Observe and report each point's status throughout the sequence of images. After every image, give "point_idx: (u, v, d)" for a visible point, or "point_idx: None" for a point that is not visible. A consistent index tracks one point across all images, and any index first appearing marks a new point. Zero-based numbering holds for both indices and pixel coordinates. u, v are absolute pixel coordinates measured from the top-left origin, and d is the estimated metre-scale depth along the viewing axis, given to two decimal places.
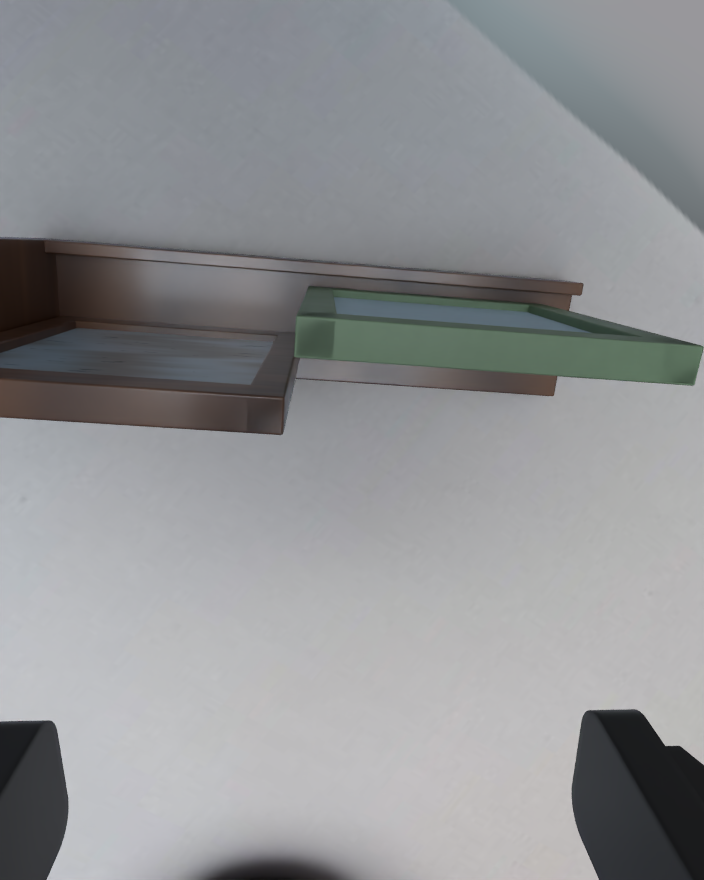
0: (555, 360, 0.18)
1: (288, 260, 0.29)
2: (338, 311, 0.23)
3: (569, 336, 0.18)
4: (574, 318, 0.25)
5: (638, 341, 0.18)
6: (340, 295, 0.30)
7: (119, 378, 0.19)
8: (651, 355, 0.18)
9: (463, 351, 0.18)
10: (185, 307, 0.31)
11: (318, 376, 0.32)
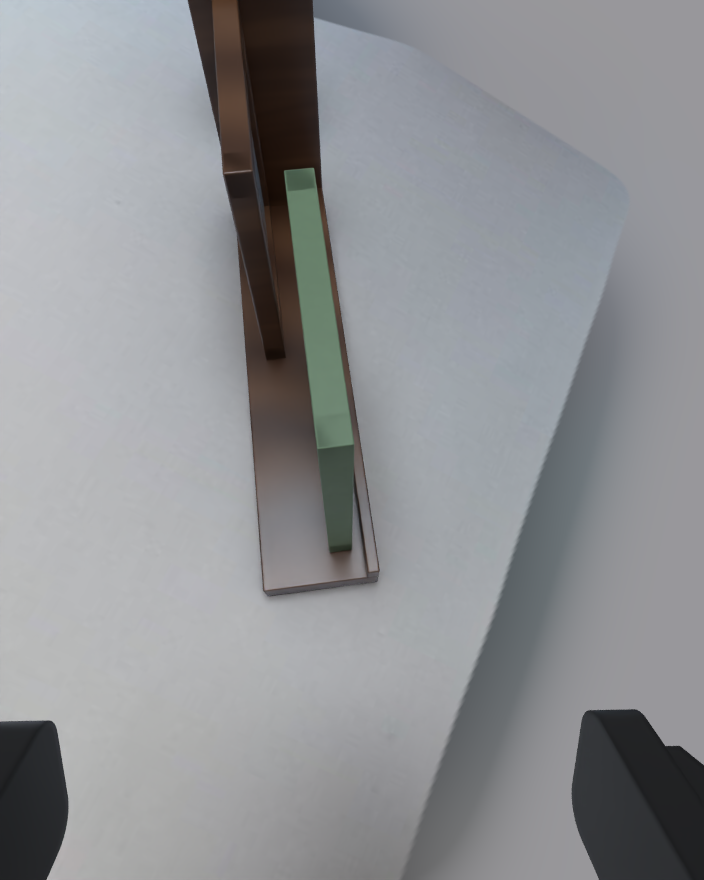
0: (315, 331, 0.21)
1: (342, 329, 0.37)
2: None
3: (338, 338, 0.21)
4: None
5: (346, 391, 0.20)
6: None
7: (248, 103, 0.27)
8: (336, 403, 0.20)
9: (310, 267, 0.22)
10: (291, 278, 0.40)
11: (250, 376, 0.37)
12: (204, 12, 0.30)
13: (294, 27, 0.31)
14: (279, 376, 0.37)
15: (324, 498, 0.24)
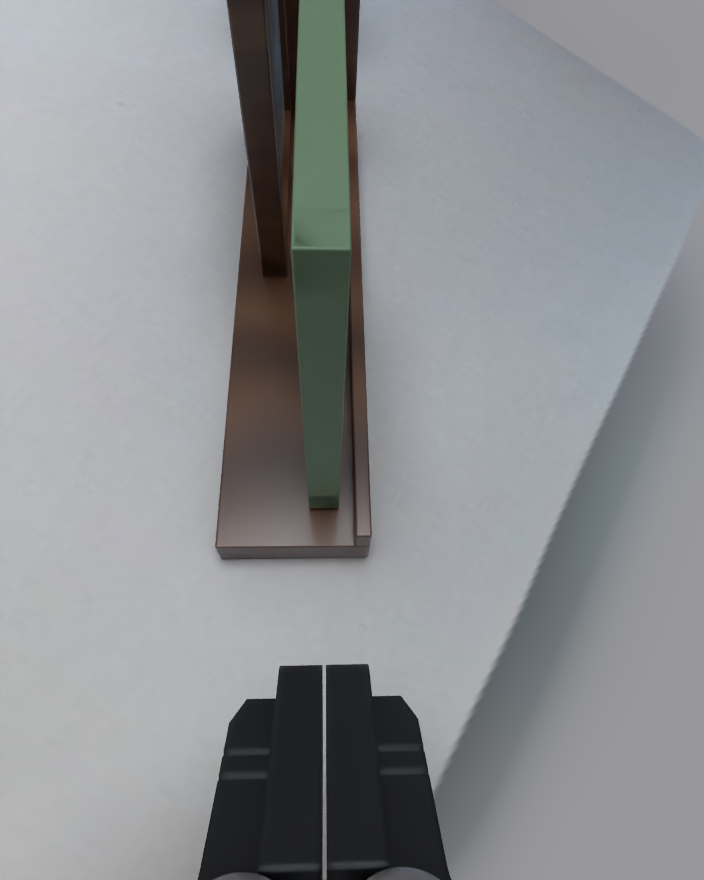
0: (314, 107, 0.14)
1: (360, 248, 0.30)
2: None
3: (346, 120, 0.14)
4: None
5: (348, 183, 0.13)
6: None
7: None
8: (331, 194, 0.13)
9: (318, 37, 0.15)
10: None
11: (240, 292, 0.30)
12: None
13: None
14: (275, 296, 0.30)
15: (302, 386, 0.16)
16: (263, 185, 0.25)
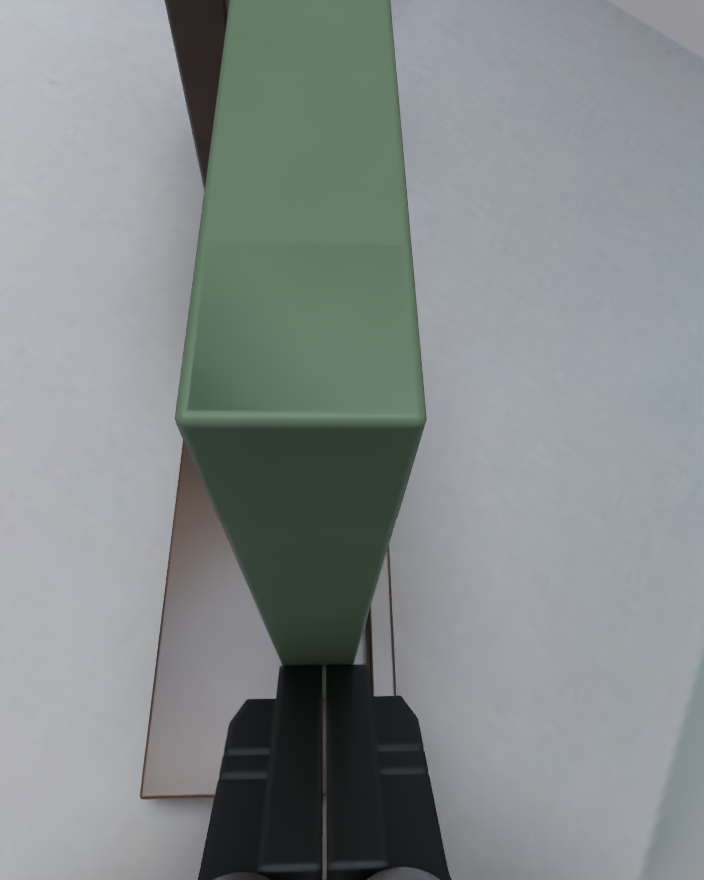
0: None
1: None
2: None
3: None
4: None
5: (400, 156, 0.04)
6: None
7: None
8: (342, 194, 0.04)
9: None
10: None
11: None
12: None
13: None
14: None
15: (269, 628, 0.07)
16: None
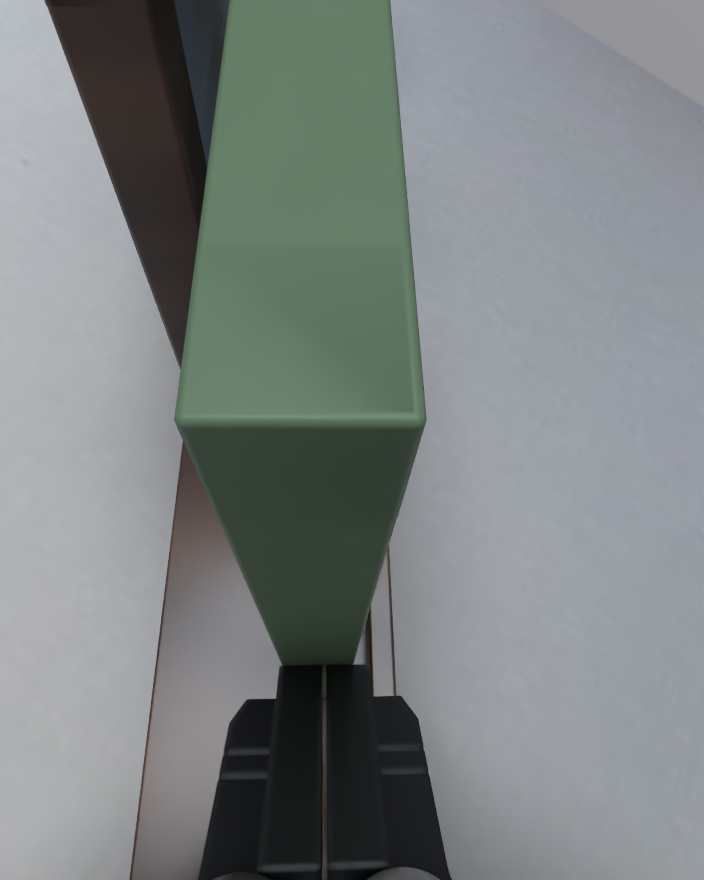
0: None
1: None
2: None
3: None
4: None
5: (400, 157, 0.04)
6: None
7: None
8: (342, 194, 0.04)
9: None
10: None
11: (181, 510, 0.18)
12: None
13: None
14: None
15: (269, 628, 0.07)
16: None
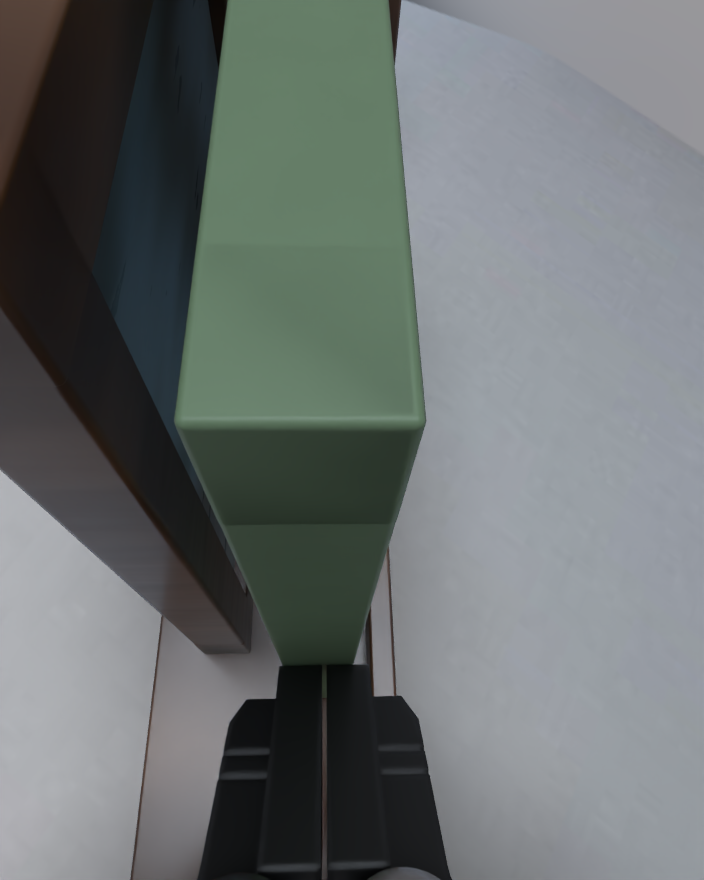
0: None
1: (390, 610, 0.15)
2: None
3: None
4: None
5: (399, 157, 0.04)
6: None
7: None
8: (341, 195, 0.04)
9: None
10: None
11: (159, 696, 0.15)
12: None
13: None
14: (227, 705, 0.15)
15: (269, 629, 0.07)
16: (180, 607, 0.11)
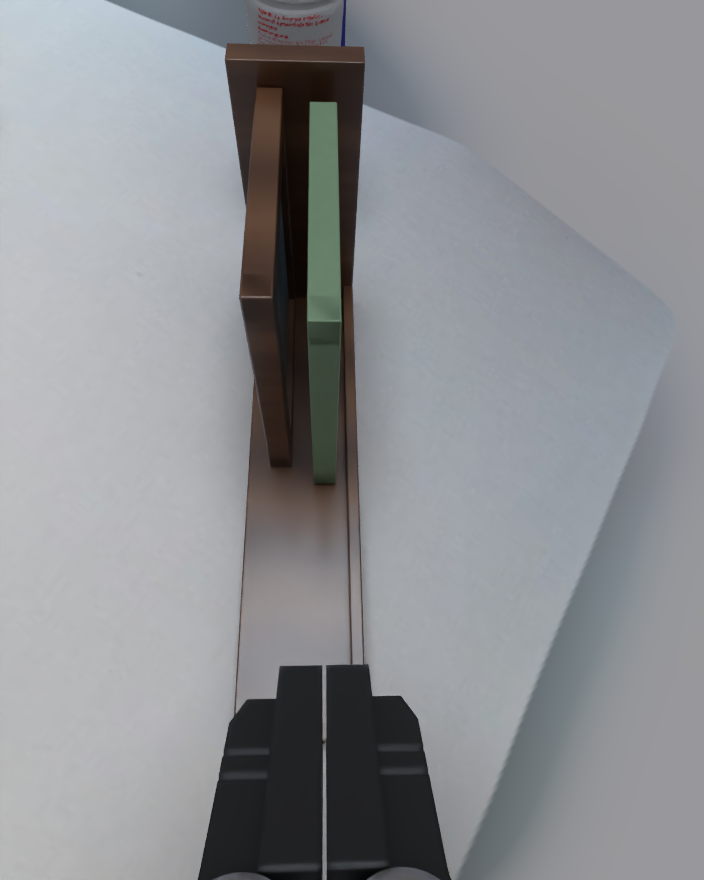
0: (319, 229, 0.23)
1: (356, 444, 0.34)
2: None
3: (339, 237, 0.23)
4: None
5: (340, 279, 0.22)
6: None
7: (279, 216, 0.25)
8: (330, 287, 0.22)
9: (321, 178, 0.24)
10: (308, 378, 0.37)
11: (251, 484, 0.34)
12: (246, 110, 0.28)
13: (340, 133, 0.29)
14: (282, 487, 0.34)
15: (311, 397, 0.26)
16: (272, 419, 0.29)
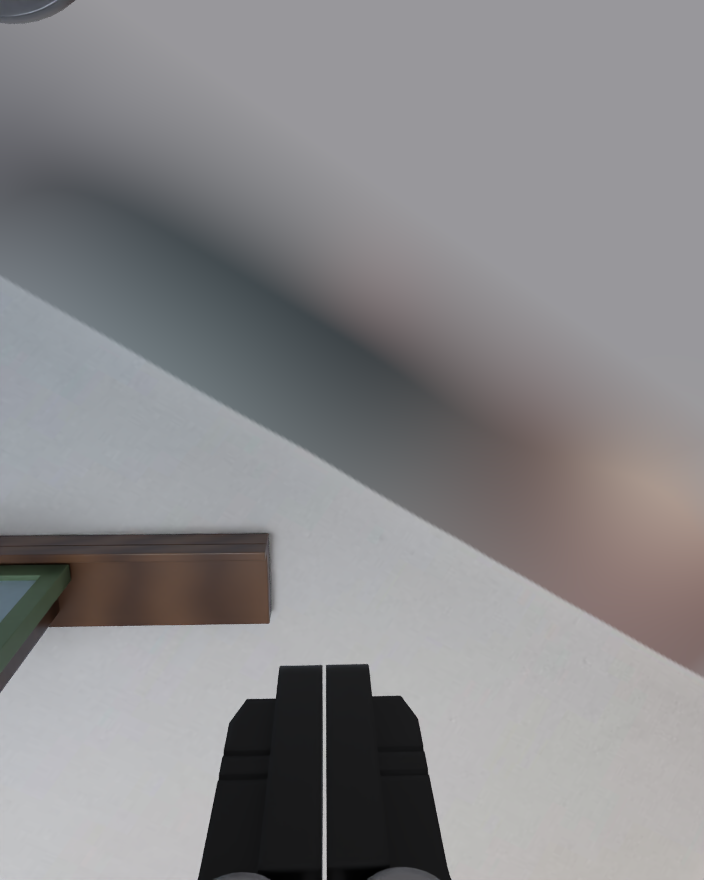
0: None
1: (29, 555, 0.38)
2: None
3: None
4: None
5: None
6: None
7: None
8: None
9: None
10: None
11: (77, 624, 0.41)
12: None
13: None
14: (77, 602, 0.40)
15: (1, 671, 0.31)
16: (20, 656, 0.35)
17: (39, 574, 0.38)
